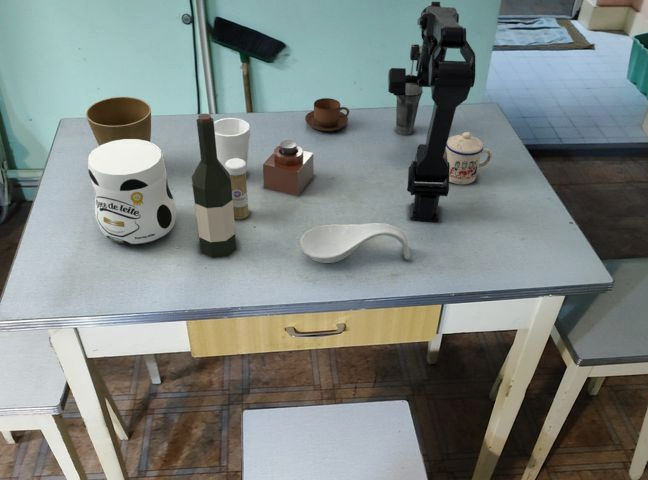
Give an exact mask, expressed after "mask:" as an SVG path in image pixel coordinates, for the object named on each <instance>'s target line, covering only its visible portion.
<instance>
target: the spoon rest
mask: <svg viewBox="0 0 648 480" xmlns="http://www.w3.org/2000/svg"><path fill="white" fill-rule="evenodd" d="M379 236H387V237H388V236H389V237H392V238H394V239H396V240H397V241H398V242H400V244H401V246H402V247H401V248H402V254H403V257H404V259H405V260H410V257H411V251H410V247H409V241H408V236H407V235H406V233H405V232H404V231H403V230H402V229H400V228H399V227H397V226H394V225H391V224H388V223H382V222H376V223H375V222H374V223H373V222H371V223H356V224H355V223H351V224H344V223H343V224H340V223H339V224H324V225H318V226H314V227H313V228H311V229H309V230H307V231H305V232H304V234H303V235H302V237H301V238H300V241H299V243H300V244H299V245H300V249H301V251H302V252H303V253H304V254H305V256H307V257H308V258H309V259H311V260H312V261H315V262H317V263H323V264H334V263H338V262H340V261H342V260H344V259H346V258H347V257H348V256H350V255H351V254H352V253H353V252H354V251H356V250H357V249H358V248H360V247H361V246H363V244H365V243H366V242H367V241H369V240H371V239H373V238H375V237H379Z"/></svg>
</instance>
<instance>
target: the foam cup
mask: <svg viewBox="0 0 648 480" xmlns="http://www.w3.org/2000/svg"><path fill="white" fill-rule="evenodd" d="M250 126H251V124H249V123H248V121H247V120H244V119H242V118H237V117H224V118H220V119H217V120H215V121H214V130H215V140H216V151H217V159H218V160H219V162H220V163H221V164H222V165H223V166H224V168H225V163H226V162H227V161H228V160H230V159H234V158H238V159H242V160H244V161H245V162H246V173H247V172H248V171H247V170H248V158H249V145H250V138H251V127H250ZM225 169H226V168H225Z"/></svg>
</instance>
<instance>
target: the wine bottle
mask: <svg viewBox="0 0 648 480" xmlns="http://www.w3.org/2000/svg"><path fill="white" fill-rule="evenodd" d="M197 117H198V118H197V119H196V127H197V136H198V144H199V153H200V161H199V163H198V164H197V166H196V167H195V170H194V171H193V173H192V175H191V181H192V182H191V184H192V192H193V193H192V194H193V200H194V207H195V214H196V223H197V230H198V231H197V232H198V238H199V246H200V247H199V248H200V254H203V255H205V256H207V257H209V258H212V259H218V258H227V257H229V256H230V255H232V254H233V253H234V252H235V251H237V249H238V248H237V247H238V246H237V238H236V237H237V236H236V225H235V223H236V222H235V219H234V211H233V199H232V187H231V179H230V174H229V173H228V171H227V170H226V169H225V168H224V166H223V165H222V164H221V163H220V162H219V160H218V159H217V151H216V140H215V130H214V122H215V121H214V118H213V117H212V116H211V114H210V113H200V114H199V115H198V116H197Z"/></svg>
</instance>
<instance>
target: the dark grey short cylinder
mask: <svg viewBox="0 0 648 480" xmlns="http://www.w3.org/2000/svg"><path fill="white" fill-rule="evenodd" d="M279 146H280V153H281V154H282V155H285V156H292V155H295V154H296V153H297V146H298V144H297V142H296V141H294V140H288V139H287V140H283V141H280V143H279Z"/></svg>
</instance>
